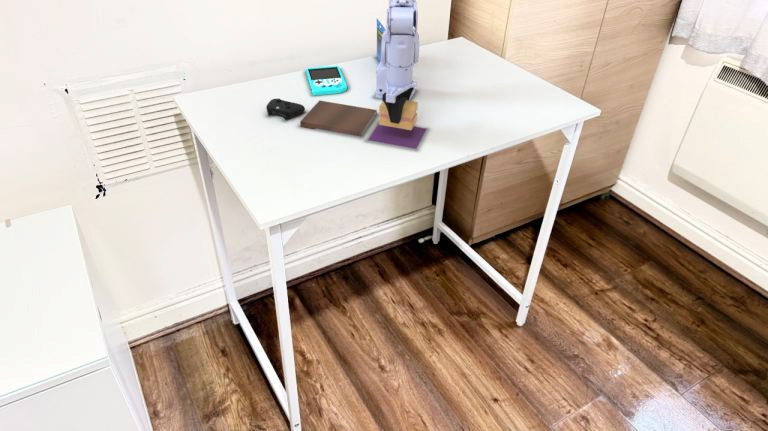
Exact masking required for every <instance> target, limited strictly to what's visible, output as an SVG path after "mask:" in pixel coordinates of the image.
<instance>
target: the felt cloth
mask: <svg viewBox="0 0 768 431" xmlns="http://www.w3.org/2000/svg"><path fill="white" fill-rule="evenodd" d="M426 131H427V128H426V127H420V126H414V127H413V128H412V130H407V129H401V128H395V127H389V126H384V125H379V123H378V124H377V126H376V127H375V128H374V130H373V131H372V133H371V134H370V136H369V138H368V139H367V141H369V142H375V143H381V144H385V145H391V146H398V147H402V148H409V149H415V150H417V148H418V146H419V144H420V142H421V141H422V139H423V137H424V134H425V133H426Z"/></svg>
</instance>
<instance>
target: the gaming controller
mask: <svg viewBox="0 0 768 431" xmlns="http://www.w3.org/2000/svg"><path fill="white" fill-rule="evenodd" d="M265 108H266V111H267V115H268V116H272V115H273V114H276V115H280V116H284V120H287V121H288V120H290V119H291V118H292V117H293V116H296V115H301V114H303V113H304V112H305V110H306V108H305V106H304V105H303V104H300V103H297V102H291V101H287V100H284V99H281V98H273V99H270V100H269V102H268V103H267V105H266V106H265Z"/></svg>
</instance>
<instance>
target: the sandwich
mask: <svg viewBox="0 0 768 431" xmlns="http://www.w3.org/2000/svg"><path fill="white" fill-rule="evenodd" d="M418 109H419V101H416V100H415V101H414V100H410V101H409V100H406V102H405V104H404V107H403V110H402V115H401V120H400V122H399V124H397V123H391V122H390V118H389V114H388V110H387V107H386V105H385V103H384V102H383V101H381V103H380V104H379V109H378V111H379V112H378V113H379V115H380V116H379V117H378V120H379V121H378V124H379V125H384V126H389V127H395V128H401V129H407V130H412V128H413V127H415V125H416V124H417V121H418V113H417V111H418Z"/></svg>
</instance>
